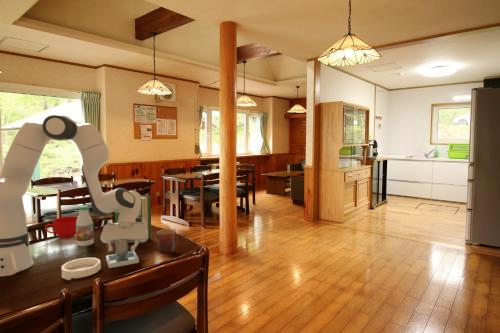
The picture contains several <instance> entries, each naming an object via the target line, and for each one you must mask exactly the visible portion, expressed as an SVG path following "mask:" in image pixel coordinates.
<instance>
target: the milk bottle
mask: <svg viewBox="0 0 500 333" xmlns="http://www.w3.org/2000/svg"><path fill="white" fill-rule="evenodd" d="M89 210H90V207H89V205H80V206H78V211H79V213H78V216H77V217H78V218H77V221H76V234H75V236H76V245H77V246H78V247H88V246H91V245H93V244H94V239H95V238H94V224H93V223H94V222H93V218H92V217H91V215H90V213H89Z"/></svg>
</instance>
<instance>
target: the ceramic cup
mask: <svg viewBox="0 0 500 333" xmlns="http://www.w3.org/2000/svg"><path fill="white" fill-rule="evenodd" d="M77 218H78V216H61V217H57V218H54V219H53V220H52V224H51V223H49V224H46V225H45V226H44V230H45V232H46V233H49V234H54V235H57V236H58V237H59V238H60V239H66V240H67V239H71V238H74V237H75V236H76V221H77ZM49 226H51V227H52V228H53V230H54V231H49V230H48V228H47V227H49Z"/></svg>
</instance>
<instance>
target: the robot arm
mask: <svg viewBox="0 0 500 333" xmlns="http://www.w3.org/2000/svg"><path fill="white" fill-rule="evenodd" d="M51 140H52V141H53V140H56V141H59V142H63V141H70V140H71V141H72V142H74V144H76V146H77V148H78V151H79V152H80V155H81V159H82V166H81V173H82V177H83V180H84V182H85V183H84V184H85V186H86V189H87V191H88V195H89V198H90V205H91V209H92V211H93V212H94V213H95V214H96V215H98V216H101V217H105V216H107V215H109V214H110V215H111V213H115V211H117V210H118V211H119V212H120V214H119V218H118V222H117V223H115V222H108V223H106V224H105V225H103V228H102V231H101V234H100V238H99V239H100V241H101V242H102V243H103V244H107V245H108V250H107V251H108V252H114V248H115V247H114V246H113V243H114V244H115V241H117V240H128V243H134V244H133V245H131V246H130V252H131V251H136V248H137V246H138V245H139V244H140V243H139V242H143V243H146V242H147V241H148V230H147V223H146V220H145V219H143V218H140V217H138V214H139V212H140V207H141V196H140V195H141V194H140V193H139V192H138V191H135V190H127V189H126V188H123V187H118V188H115V189H112V190H110V191H106V192H103V189H102V185H101V182H100V180H99V172H100V170H101V169H102V167H104V166H105V165H106V163H107V162H108V160H109V158H110V150H109V148H108V146H107V144H106V142H105V140H104V138H103V136H102V135H101V132H100V131H99V130H98V128H97V127H96V126H95V125H94V124H93V123H90V122H86V123H85V122H84V123H80V124H76V122H75V121H74V119H72V118H71V117H69V116H67V115H64V114H58V113H57V114H55V113H53V114H50V115H48V116H47V117H45V119H44V120H43V121H42V122H38V121H34V120H31V121H26V122H24V123H23V125H21V127H20V128H19V130H18V131H17V133H16V134H15V136H14V138H13V140H12V142H11V144H10V147H9V149H8V151H7V153H6V155H5V157H4V161H3V165H2V167H1V168H2V169H1V171H0V277H7V276H13V275H15V274H16V273H19V272H21V271H24V270H27V269H29V268H30V267H33V265H34V263H35V262H34V260H33V258H32V255H31V251H30V235H29V232H28V221H27V213H26V210H25V206H24V200H23V197H24V195H25V194H26V193H27V191H28V189H29V186H30V184H31V180H32V178H33V175H34V173H35V169H36V167H37V165H38V162H39V160H40V159H41V156H42V153H43V151H44V149H45V146H46V144H47V143H49V142H50V141H51Z"/></svg>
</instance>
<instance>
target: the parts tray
mask: <svg viewBox="0 0 500 333" xmlns="http://www.w3.org/2000/svg"><path fill="white" fill-rule="evenodd" d="M135 251H136V250H135ZM135 251H131V250H130V251H128V255H129V260H125V261H120V262H116V253H114V254H109V255H108V254H107V255H105V260H106V263H107V266H108V269H113V268H117V267H123V266H128V265H134V264H138V263H140V259H139V256H138V255H137V253H136V252H135Z"/></svg>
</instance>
